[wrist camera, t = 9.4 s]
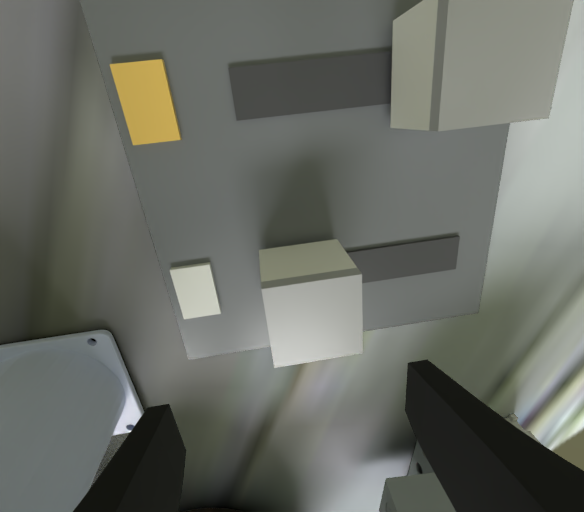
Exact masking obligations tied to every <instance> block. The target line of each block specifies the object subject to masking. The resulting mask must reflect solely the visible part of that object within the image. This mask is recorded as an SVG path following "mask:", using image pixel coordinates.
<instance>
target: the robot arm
mask: <svg viewBox="0 0 584 512" xmlns="http://www.w3.org/2000/svg"><path fill="white" fill-rule="evenodd" d="M90 338H93V339H95V340H96V341H93V340H91V339H90ZM405 411H406V414H407V416H408V419H409V421H410V424H411V426H412V429H413V431H414V433H415V436H416V438H417V440H418V443H419V445H420V447H421V449H422V451H423V452H424V454H425V456H426V458H427V460H428V462H429V463H430V465H431V467H432V469H433V471H434V473H435V474H436V476H437V478H438V480H439V482H440V483H441V485H442V487H443V489H444V491H445V493H446V494H447V496H448V498H449V500H450V502H451V503H452V505H453V507H454V509H455V511H456V512H584V471H583V470H581V469H579V468H578V467H576V466H575V465H573V464H571V463H570V462H568V461H566V460H565V459H563V458H562V457H560V456H558V455H557V454H555V453H554V452H552V451H551V450H549V449H548V448H546V447H545V446H543V445H542V444H540V443H539V442H537V441H536V440H534V439H533V438H531V437H530V436H528V435H527V434H525V433H524V432H523V431H521V430H520V429H518V428H517V427H515V426H514V425H512V424H511V423H510V422H508V421H507V420H505V419H504V418H503V417H501V416H500V415H499V414H497V413H496V412H495V411H493V410H492V409H491V408H489V407H488V406H486V405H485V404H484V403H482V402H481V401H480V400H478V399H477V398H476V397H475V396H473V395H472V394H471V393H469V392H468V391H467V390H465V389H464V388H463V387H462V386H460V385H459V384H458V383H456V382H455V381H454V380H453V379H451V378H450V377H449V376H448V375H446V374H445V373H444V372H442V371H441V370H440V369H439V368H437V367H436V366H435V365H434V364H432V363H431V362H430V361H428V360H422V361H416V362H410V363H408V372H407V388H406V404H405ZM131 424H132V425H131ZM124 433H129V435H128V436H127V438H126V439H125V441H124V442H123V444H122V445H121V446H120V448H119V449H118V451H117V452H116V454H115V455H114V456H113V458H112V459H111V461H110V462H109V463H108V465H107V466H106V468H105V469H104V470H103V472H102V473H101V474H100V476H99V477H98V479H97V480H96V481H95V483H94V484H93V485H92V487H91V488H90V486H91V484H92V482H93V479H94V477H95V475H96V472H97V470H98V468H99V465H100V463H101V461H102V458H103V456H104V454H105V452H106V449H107V447H108V445H109V442H110V440H111V438H112V436H113V435H118V434H124ZM185 456H186V449H185V446H184V444H183V441H182V438H181V435H180V433H179V430H178V427H177V424H176V422H175V419H174V416H173V413H172V411H171V408H170V405H169V404H166V405H161V406H155V407H149V408H147V409H146V411H145V412H144V410H143V408H142V405H141V403H140V400H139V398H138V396H137V393H136V391H135V388H134V386H133V383H132V381H131V379H130V376H129V374H128V371H127V369H126V367H125V364H124V362H123V359H122V357H121V354H120V352H119V350H118V347H117V345H116V342H115V340H114V338H113V335H112V334H111V333H110V332H109V331H107V330H95V331H89V332H82V333H76V334H69V335H63V336H56V337H50V338H43V339H37V340H30V341H24V342H17V343H11V344H4V345H0V512H178V507H179V503H180V498H181V493H182V485H183V477H184V467H185ZM89 488H90V490H89Z"/></svg>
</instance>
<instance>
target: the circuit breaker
mask: <svg viewBox="0 0 584 512" xmlns="http://www.w3.org/2000/svg"><path fill="white" fill-rule="evenodd" d="M504 419H505V420H507V421H508V422H510V423H511V424H512V425H514V426H515V427H517V428H518V429H520V430H521V431H523V432H524V433H525V434H527V435H528V436H530V437H531V438H533V439H534V440H536V441H537V442H539V441H538V440H537V439H536V438H535V436H534V435H533V434H532V433H531V432H530V431H525V430H524V429H523V428H522V427H521V426H520V425H519V423H518V422H517V419H518V417H517V416H516V415H515V414H510V415H509V417H508V418H504ZM539 443H540V442H539ZM540 444H541V443H540ZM379 511H380V512H456V511H455V509H454V507H453V505H452V503H451V502H450V500H449V498H448V496H447V494H446V493H445V491H444V489H443V487H442V485H441V483H440V482H439V480H438V478H437V476H436V474H435V473H434V471H433V469H432V467H431V465H430V463H429V462H428V460H427V458H426V456H425V454H424V452H423V451H422V449H421V447H420V445H419V443H418V440H417V442H416V446H415V449H414V453H413V457H412V461H411V465H410V469H409V473H408V476H402V477H393V478H386V481H385V485H384V490H383V494H382V499H381V504H380V508H379Z"/></svg>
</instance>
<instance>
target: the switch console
mask: <svg viewBox="0 0 584 512" xmlns="http://www.w3.org/2000/svg"><path fill="white" fill-rule="evenodd" d="M79 1H80V4H81V7H82V11H83V14H84V17H85V21H86V24H87V27H88V30H89V34H90V37H91V40H92V44H93V47H94V50H95V53H96V57H97V60H98V63H99V67H100V70H101V73H102V77H103V80H104V83H105V86H106V90H107V93H108V96H109V100H110V103H111V106H112V109H113V113H114V116H115V119H116V123H117V126H118V129H119V132H120V136H121V139H122V142H123V146H124V149H125V152H126V155H127V159H128V162H129V165H130V169H131V172H132V175H133V179H134V182H135V185H136V188H137V192H138V195H139V198H140V202H141V205H142V208H143V211H144V215H145V218H146V221H147V225H148V228H149V231H150V234H151V238H152V241H153V244H154V248H155V251H156V254H157V257H158V261H159V264H160V267H161V271H162V274H163V277H164V281H165V284H166V287H167V290H168V294H169V297H170V300H171V304H172V307H173V310H174V313H175V317H176V320H177V323H178V327H179V330H180V333H181V336H182V340H183V343H184V346H185V350H186V353H187V356H188V359H189V360H191V359H197V358H203V357H209V356H216V355H222V354H228V353H234V352H240V351H246V350H253V349H259V348H265V347H271V345H270V339H269V332H268V326H267V320H266V314H265V308H264V302H263V296H262V290H261V275H260V260H259V250H262V249H269V248H276V247H284V246H291V245H298V244H305V243H312V242H319V241H326V240H333V239H337V240H338V241H339V243H340V244H341V246H342V247H343V248H344V250H345V251H346V253H347V254H348V255H349V257H350V258H351V260H352V261H353V262H354V264H355V265H356V267H357V268H358V269H359V271H360V272H361V274H362V315H363V331H369V330H376V329H382V328H388V327H394V326H400V325H406V324H413V323H419V322H425V321H431V320H437V319H443V318H449V317H456V316H462V315H468V314H474V313H478V312H479V306H480V300H481V294H482V288H483V281H484V275H485V269H486V263H487V257H488V251H489V245H490V239H491V233H492V227H493V221H494V215H495V209H496V203H497V197H498V191H499V185H500V179H501V173H502V167H503V161H504V155H505V149H506V143H507V137H508V131H509V125H510V123H504V124H496V125H488V126H479V127H471V128H463V129H454V130H446V131H425V130H412V129H398V128H390V123H391V80H392V37H393V20H395V19H396V18H398V17H399V16H401V15H402V14H404V13H405V12H407V11H408V10H409V9H411V8H412V7H414V6H415V5H417V4H418V3H420V2H421V1H423V0H79Z"/></svg>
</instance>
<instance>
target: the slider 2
mask: <svg viewBox="0 0 584 512" xmlns="http://www.w3.org/2000/svg"><path fill="white" fill-rule="evenodd" d="M573 1H574V0H423V1H421V2H420V3H418V4H417V5H415V6H414V7H412V8H411V9H409V10H408V11H407V12H405V13H404V14H402V15H401V16H399V17H398V18H396V19H395V20H393V37H392V80H391V123H390V128H398V129H412V130H425V131H446V130H454V129H463V128H471V127H479V126H488V125H496V124H504V123H513V122H521V121H529V120H538V119H546V118H549V115H550V110H551V105H552V100H553V96H554V91H555V86H556V81H557V77H558V72H559V67H560V62H561V58H562V53H563V48H564V44H565V39H566V34H567V29H568V25H569V20H570V15H571V10H572V6H573Z"/></svg>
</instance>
